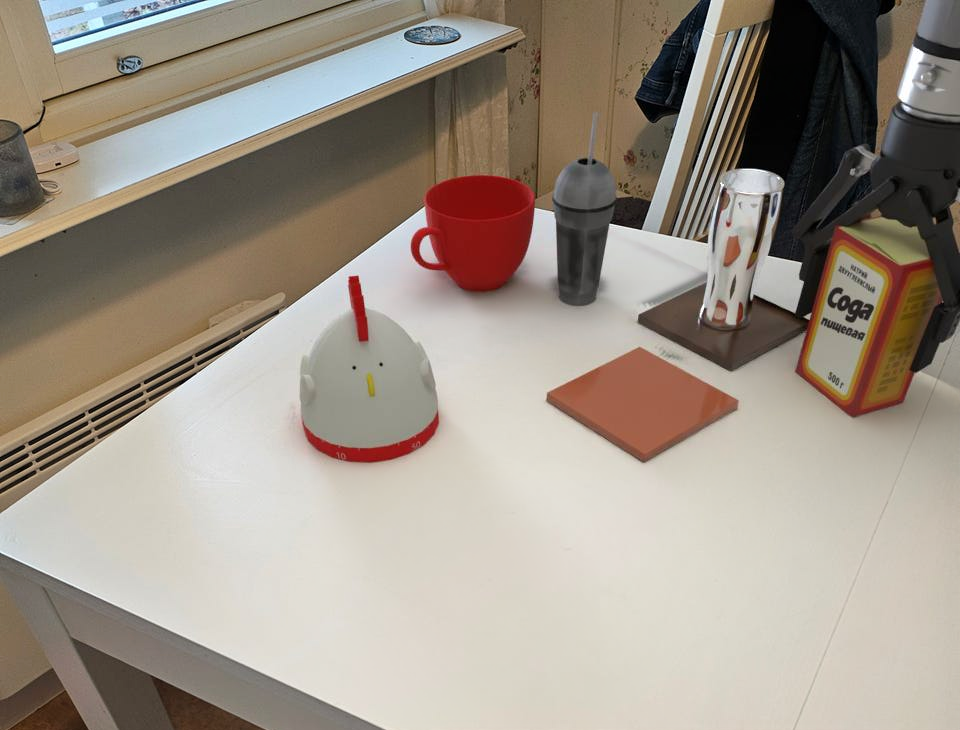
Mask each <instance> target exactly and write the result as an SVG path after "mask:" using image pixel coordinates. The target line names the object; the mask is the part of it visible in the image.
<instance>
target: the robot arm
mask: <svg viewBox="0 0 960 730" xmlns="http://www.w3.org/2000/svg"><path fill="white" fill-rule="evenodd" d="M900 79H901V80H900V82H899V86H898V89H897V92H896V96H897V98H898V100H899V101H898V102H897V103H895V105H893V106H892V107H891V110H890V113H889V114H890V115H889V117H888V120H887V122H886V126H885V129H884V133H883V136H882V139H881V143H880V152H879V153H878V155H877V154H875V153H873V152H872V149H871V146H870V145H869V144H868V143H862V144H860V145H858V146H855V147H853V148H851V149H849V150H848V149H847V150H846V151H845V152H844V154H843V156H842V159H841V161H840V164H839V167H838V169H837V172H836V174H835V175H834V176H833V177H832V178H831V180H830V181H829V183H828V184H826V186H825V187H824V189H823V190H822V191H821V192H820V193H819V195H818V196H817V198H816V199H815V200H814V201H813V202H812V204H811V205H810V206H809V208H808V209H806V211H805V212H804V214H803V215H802V216H801V217H800V219H799V220H797V222H796V224H795V225H794V226H793V227H792V229H791V236H792V238H793V239H794V240H800V241H801V242H802V243H803V245H804V249H805V250H804V255H803V258H802V261H801V265H800V269H799V273H798V280H799V281H802V282H803V283H802V288H801V292H800V295H799V299H798V301H797V306H796V309H795V312H794V313H795V316H796V317H798V318H802V317H804V318H805V317H806V316H808V315H811V313H812V309H813V305H814V302H815V298H816V295H817V291H818V287H819V284H820V280H821V277H822V273H823V269H824V266H825V262H826V259H827V255H828V251H829V248H830V246H827V247H826V245H829V244H831V241H832V237H833V233H834V230H835V226H838V225H841V226H844V227H848V226H850V225H852V224H854V223H856V222H858V221H861V220H864V219H866V218H867V217H868V216H870V215H871V214H872V213H873V212H875V211H877V210H878V212H879V213H880V214H881V215H880V216H881V217H883V218H886V219H888V220H897V221H898V222H900V223H901V224H902V225H904V226H906V227H909V228H912V227H916V228H917V229H918V231H919V235H920V237H921V239H923V240H924V241H925V243H926V246H927V249H928V253H929V256H930V259H931V260H932V266H933V269H934V273H935V276H936V279H937V283H938V286H939V289H940V293H941V296H942V299H943V301H942V303H940V304H939V305H937V306H935V307H934V309H933V311H932V314H931V316H930V319H929V321H928V324H927V326H926V329H925V331H924V334H923V336H922V339H921V341H920V344H919V346H918V349H917V351H916V354H915V356H914V359H913V361H912V364H911V366H910V369H909V370H910V371H912V372H914V374H917V373H919V372H920V371H922V370H923V369H926V368H927V367H928V366H930V365H931V364H932V363H933V361H934V358H935V356H936V353H937V351H938V348H939V347H940V344H943V343H944V342H946V341H948V340H949V339H951V338H952V337H953V336H954V335H955V333H956V331H957V329H958V327H959V324H960V250H959V247H958V243H957V240H956V236H955V232H954V229H953V227H954V223H955V221H954V217H953V214H952V211H951V206H952V205H953V204H955V203H956V202H957V203H958V204H959V205H960V0H925V2H924V7H923V9H922V12H921V16H920V19H919V23H918V25H917V29H916V32H915V35H914V37H913V41H912V44H911V46H910V50H909V54H908V56H907V60H906V63H905V67H904V70H903V73H902V75H901V78H900ZM868 172H869V179H870V182H871V183H870V184H871V187H872V191H871V192H870V193H869V194H867V195H865V197H863V198H861V199H860V200H859V201H857V202H856V203H855V204H854V205H853V206H852V207H850V208H849V209H848V210H846V211H845V212H843V213H842V214H841V215H839V216H838V217H836V218H835V219H833V221H831V222H830V223H829V224H827V225H826V226H824V227H823V228H821V229H819V226H821V224H822V223H823V222H824V221H825V219H826V218H827V217H828V216H829V215H830V213H831V212H832V211H833V210H834V208H835V207H836V206H837V205H838V204H839V202H841V200H842V199H843V197H845V195H846V194H847V192H849V190H850V189H851V188H852V187H853V185H855V183H856V182H857V180H858V179H859V178H860V177H862V176H864V175H866V174H867V173H868ZM958 212H959V213H958V214H960V210H959V211H958ZM934 219H935V222H934Z"/></svg>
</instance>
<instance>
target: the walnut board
mask: <svg viewBox="0 0 960 730" xmlns="http://www.w3.org/2000/svg"><path fill="white" fill-rule="evenodd" d="M706 285H707V281H706V282H703V283H701V284H700V285H697V286H695V287H693V288H691V289H689V290H687V291H685V292H683V293H681V294H678V295H676V296H675V297H672V298H670V299H668V300H665V301H664V302H661V303H660V304H658V305H656V306H653V307H651V308H649V309H647V310H644V311H643V312H640V313H638V315H637V321H636V322H637V323H638V324H640V325H642V326H643V327H646V328H647V329H650V330H651V331H653V332H655V333H657V334H659V335H660V336H663V337H665V338H667V339H669V340H671V341H673V342H674V343H676V344H678V345H680V346H682V347H684V348H685V349H688V350H689V351H691V352H694V353H695V354H697V355H699V356H701V357H703V358H704V359H707V360H708V361H711V362H713V363H714V364H717V365H718V366H720V367H722V368H724V369H726V370H728V371H730V372H732V371H734V370H736V369H738V368H739V367H741V366H744V365H745V364H747V363H749V362H751V361H752V360H755V359H756V358H758V357H760V356H762V355H763V354H765V353H768V352H769V351H772V350H773V349H774V348H776V347H778V346H780V345H781V344H784V343H785V342H787V341H789V340H791V339H793V338H795V337H797V336H798V335H800V334H801V333H804V332H806V331H807V327H808V323H809V320H810V318H809V319H808V318H806V317H805V316H804V317H802V318H798V317H796V316H795V312H794V311H791V310H789V309H787V308H784V307H783V306H780V305H779V304H776V303H774V302H772V301H769V300H767V299H765V298H763V297H761V296H758V295H756V294H755V293H754V294H753V305H752V319H751V322H750V323H749V324H748V325H747V326H745V327H743V328H741V329H737V330H720V329H715V328H712V327H709V326H707V325H705V324H704V323H703V322H701V321H700V319H699V317H698V310H699V307H700V304H701V302H702V299H703V297H704V293H705V290H706Z"/></svg>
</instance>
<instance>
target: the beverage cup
mask: <svg viewBox="0 0 960 730" xmlns="http://www.w3.org/2000/svg"><path fill="white" fill-rule="evenodd" d="M598 120H599V111H593V117H592V122H591V123H592V124H591V131H590V140H589V146H588V147H589V148H588V154H587V155H588V156H587V157H581V158H577V159H574V160H573V161H571V162H570V163H568V164H567V165H566V166H565V167H564V168H563V169H562V170H561V172H560V173H559V175H558V177H557V178H556V181H555V185H554V189H553V193H552V198H551V202H552V203H553V207H552V208H553V214H554V215H553V216H554V219H555V233H556V234H555V235H556V236H555V238H556V269H557V271H556V272H557V286H558V298H559V300H560V302H562V303H564V304H566V305H570V306H576V307H582V306H587V305H591V304H592V303H595V301H596V299H597V293H598V288H599V285H600V280H601V274H602V269H603V263H604V257H605V251H606V246H607V241H608V235H609V229H610V223H611V221H612V219H613V216H614V213H615V207H616V204H617V203H618V201H617V200H618V197H617V187H616V181H615V178H614V176H613V174H612V172H611V171H610V169H609V168H608V166H607V165H605V163H603V162H602V161H600V160H598V159H596V158H593V157H594V152H595V151H594V150H595V142H596V134H597V129H598V128H597V127H598Z"/></svg>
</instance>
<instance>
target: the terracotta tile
mask: <svg viewBox="0 0 960 730" xmlns="http://www.w3.org/2000/svg"><path fill="white" fill-rule="evenodd" d="M545 401H546V402H548V403H549V404H551V405H552V406H554V407H555V408H557V409H559V410H560V411H562V412H563V413H565V414H567V415H568V416H570V417H571V418H573V419H575V420H577V421H578V422H579V423H581V424H583V425H584V426H586V427H587V428H588V429H590V430H591V431H594V432H595V433H597V434H598V435H600V436H601V437H603V438H604V439H606V440H607V441H609V442H611V443H612V444H614V445H615V446H617V447H619V448H620V449H622V450H623V451H625V452H627V453H628V454H630V455H631V456H633V457H634V458H636V459H637V460H639V461H641V462H643V463H645V462H647V461H648V460H651V459H652V458H654V457H656V456H657V455H659V454H661V453H662V452H664V451H666V450H667V449H670V448H671V447H674V446H675V445H676V444H678V443H680V442H681V441H683V440H685V439H687V438H689V437H690V436H692V435H694V434H695V433H697V432H699V431H701V430H702V429H704V428H707V427H708V426H709V425H711V424H713V423H714V422H716V421H718V420H720V419H722V418H723V417H725V416H727V415H729V414H730V413H732V412H734V411H735V410H737V409H738V407H739V403H740V401H739V399H737V398H735V397H733V396H731V395H730V394H729V393H726V392H725V391H723V390H720V389H718V388H717V387H715V386H713V385H711V384H710V383H707V382H706V381H704V380H702V379H700V378H699V377H696V376H695V375H693V374H691V373H689V372H687V371H686V370H684V369H682V368H680V367H678V366H677V365H675V364H673V363H671V362H670V361H667V360H665V359H663V358H661V357H659V356H658V355H656V354H654V353H652V352H650V351H648V350H647V349H645V348H643V347H642V346H638V347H636V348H633V349H632V350H630V351H628V352H625V353H624V354H622V355H620V356H618V357H615V358H613V359H612V360H610V361H608V362H606V363H604V364H602V365H600V366H598V367H596V368H594V369H592V370H590V371H587V372H586V373H584V374H582V375H579V376H578V377H576V378H573V379H572V380H569V381H567V382H565V383H564V384H561V385H560V386H557V387H556V388H553V389H552V390H550V391H547V392H546V400H545Z"/></svg>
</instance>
